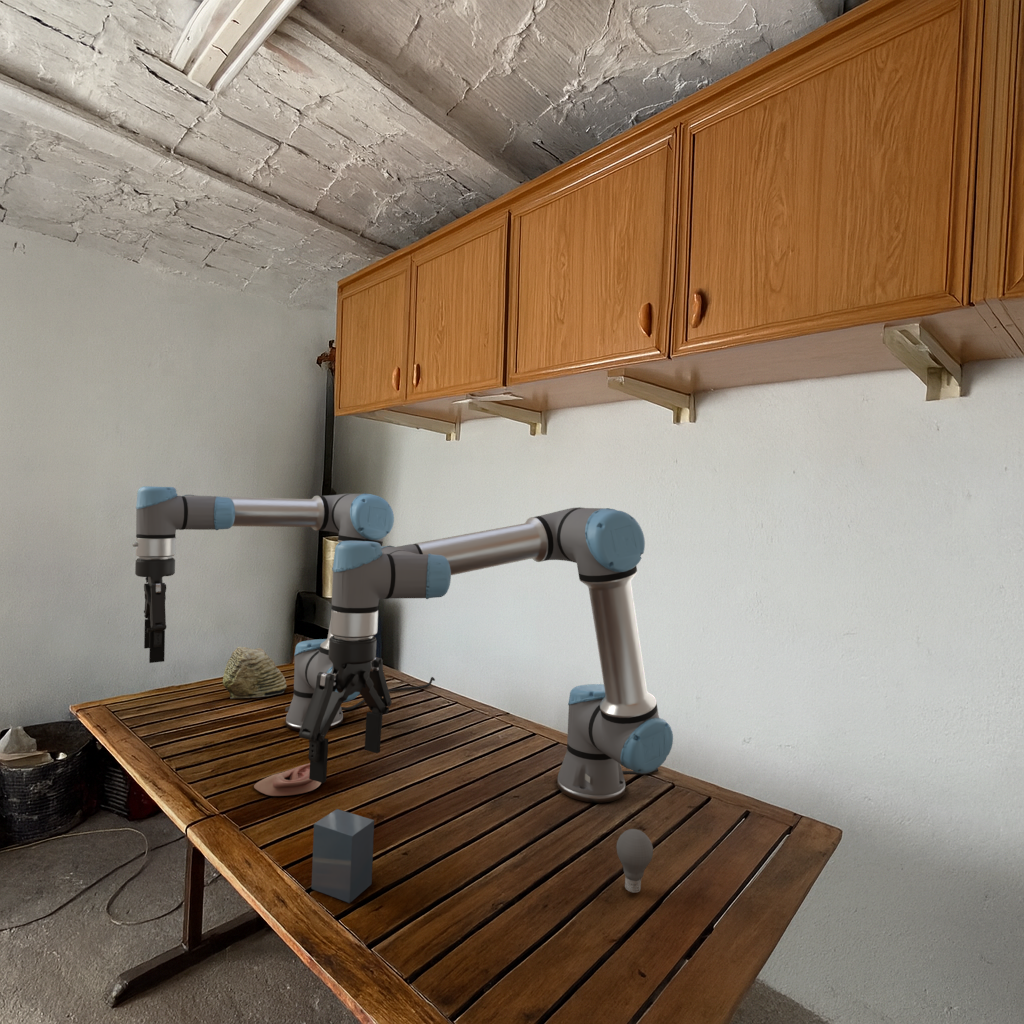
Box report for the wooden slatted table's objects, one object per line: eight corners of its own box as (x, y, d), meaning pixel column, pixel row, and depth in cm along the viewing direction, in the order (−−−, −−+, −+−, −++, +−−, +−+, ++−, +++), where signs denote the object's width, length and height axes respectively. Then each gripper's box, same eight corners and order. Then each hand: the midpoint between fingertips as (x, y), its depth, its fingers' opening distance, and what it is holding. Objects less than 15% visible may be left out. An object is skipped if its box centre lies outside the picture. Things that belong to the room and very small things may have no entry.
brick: (334, 871, 108) (337, 808, 108) (371, 884, 105) (374, 819, 104) (311, 889, 103) (313, 823, 102) (349, 903, 99) (352, 836, 99)
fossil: (218, 695, 195) (220, 647, 195) (278, 685, 208) (279, 640, 207) (228, 703, 189) (230, 653, 188) (289, 692, 201) (290, 645, 201)
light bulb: (610, 879, 108) (613, 822, 108) (644, 879, 109) (647, 822, 109) (619, 902, 102) (622, 840, 102) (655, 901, 103) (658, 840, 103)
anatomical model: (246, 773, 134) (276, 753, 145) (245, 792, 134) (276, 770, 145) (303, 782, 131) (330, 760, 142) (302, 801, 131) (329, 777, 142)
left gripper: (131, 552, 146) (130, 643, 146) (139, 564, 125) (137, 670, 126) (168, 551, 150) (167, 640, 150) (182, 563, 129) (180, 666, 130)
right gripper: (380, 621, 116) (374, 736, 117) (278, 646, 94) (271, 788, 94) (415, 626, 113) (408, 744, 113) (318, 653, 91) (310, 800, 91)
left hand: (153, 654), depth 138 cm, fingers open, 13 cm apart
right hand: (346, 764), depth 104 cm, fingers open, 13 cm apart
